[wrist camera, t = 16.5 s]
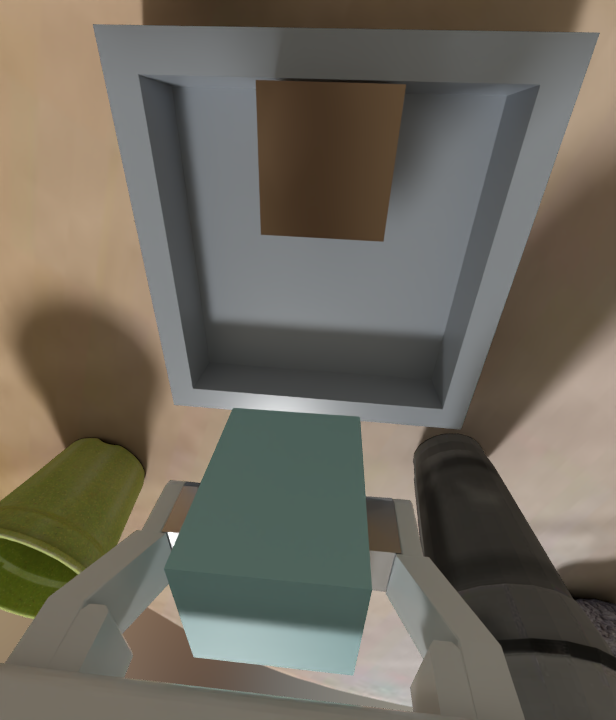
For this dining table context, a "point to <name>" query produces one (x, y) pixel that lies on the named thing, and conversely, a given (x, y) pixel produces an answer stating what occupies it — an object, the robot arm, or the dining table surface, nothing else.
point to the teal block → (277, 545)
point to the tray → (336, 256)
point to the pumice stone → (602, 619)
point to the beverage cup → (510, 583)
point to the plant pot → (64, 521)
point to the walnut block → (326, 157)
